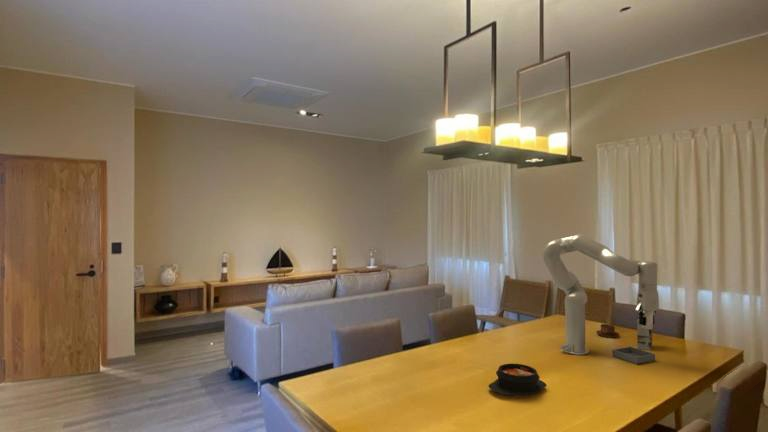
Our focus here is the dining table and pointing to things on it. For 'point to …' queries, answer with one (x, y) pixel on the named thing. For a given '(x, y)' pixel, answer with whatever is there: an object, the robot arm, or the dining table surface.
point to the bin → (633, 355)
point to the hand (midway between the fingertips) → (646, 323)
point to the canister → (648, 320)
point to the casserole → (517, 380)
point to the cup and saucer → (607, 331)
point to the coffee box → (643, 337)
